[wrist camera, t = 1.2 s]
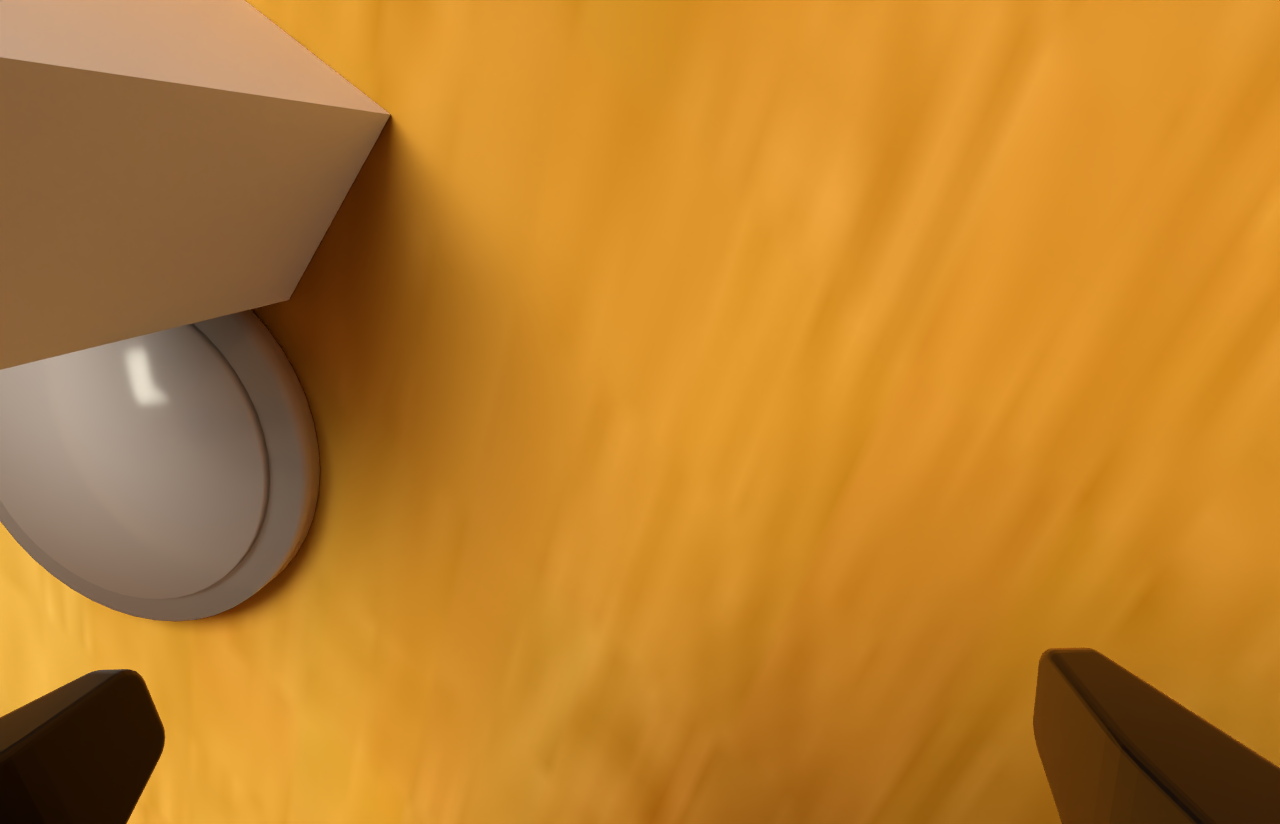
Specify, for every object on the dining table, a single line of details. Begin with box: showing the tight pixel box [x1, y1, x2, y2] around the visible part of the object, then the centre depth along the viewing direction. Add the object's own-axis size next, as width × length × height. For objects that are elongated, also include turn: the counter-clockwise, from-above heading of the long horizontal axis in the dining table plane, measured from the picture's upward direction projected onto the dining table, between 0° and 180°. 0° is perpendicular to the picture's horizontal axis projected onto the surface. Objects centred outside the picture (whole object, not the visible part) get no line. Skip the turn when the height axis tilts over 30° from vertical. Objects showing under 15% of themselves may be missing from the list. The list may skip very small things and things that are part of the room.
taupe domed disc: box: [0, 310, 320, 621], centre depth 22 cm, size 11×11×1 cm
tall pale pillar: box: [0, 0, 391, 370], centre depth 14 cm, size 6×6×12 cm
